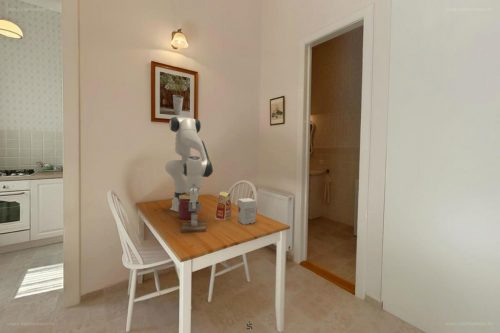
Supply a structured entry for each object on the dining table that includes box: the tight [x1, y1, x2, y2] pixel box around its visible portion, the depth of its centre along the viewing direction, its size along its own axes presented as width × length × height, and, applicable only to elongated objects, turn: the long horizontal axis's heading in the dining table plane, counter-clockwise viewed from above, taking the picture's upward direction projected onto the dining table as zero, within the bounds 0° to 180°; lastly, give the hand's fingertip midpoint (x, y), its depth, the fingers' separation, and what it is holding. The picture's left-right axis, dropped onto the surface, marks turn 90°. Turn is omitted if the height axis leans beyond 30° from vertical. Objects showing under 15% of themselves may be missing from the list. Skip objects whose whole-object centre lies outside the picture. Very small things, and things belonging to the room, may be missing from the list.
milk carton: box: [214, 189, 232, 221], centre depth 151 cm, size 9×9×20 cm
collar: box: [188, 201, 201, 212], centre depth 130 cm, size 6×6×4 cm
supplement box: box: [237, 197, 257, 226], centre depth 144 cm, size 9×9×15 cm
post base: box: [180, 212, 207, 234], centre depth 131 cm, size 14×14×8 cm
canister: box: [177, 192, 198, 220], centre depth 152 cm, size 13×13×18 cm
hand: (194, 206), depth 130 cm, fingers closed on collar, 6 cm apart
